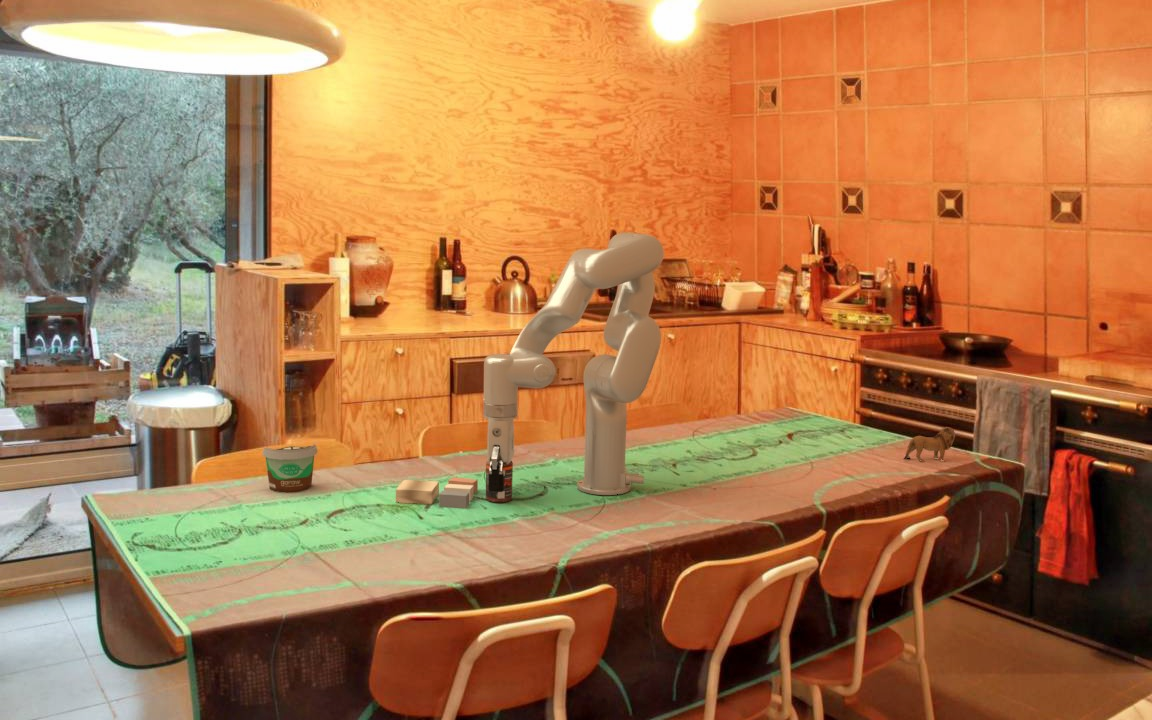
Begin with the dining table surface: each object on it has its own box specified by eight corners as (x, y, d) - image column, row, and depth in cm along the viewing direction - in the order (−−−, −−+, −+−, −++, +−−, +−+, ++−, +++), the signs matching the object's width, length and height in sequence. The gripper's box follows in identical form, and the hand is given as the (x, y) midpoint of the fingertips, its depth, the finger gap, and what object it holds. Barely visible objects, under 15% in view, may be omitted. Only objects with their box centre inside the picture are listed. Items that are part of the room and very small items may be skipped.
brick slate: (469, 505, 233) (469, 492, 232) (465, 509, 230) (466, 496, 229) (442, 503, 234) (442, 490, 233) (439, 507, 231) (439, 494, 230)
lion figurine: (946, 457, 289) (948, 424, 288) (957, 461, 284) (960, 429, 283) (898, 458, 286) (900, 426, 284) (909, 463, 280) (911, 430, 279)
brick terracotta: (477, 492, 243) (477, 479, 243) (473, 495, 240) (473, 482, 240) (453, 489, 245) (453, 477, 244) (448, 493, 242) (448, 480, 241)
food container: (268, 496, 235) (267, 452, 233) (262, 489, 240) (262, 446, 238) (323, 490, 240) (323, 447, 239) (317, 483, 246) (316, 441, 244)
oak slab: (438, 494, 240) (438, 481, 239) (431, 504, 232) (431, 491, 232) (404, 492, 240) (404, 479, 240) (395, 502, 233) (395, 489, 232)
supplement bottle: (508, 504, 234) (509, 454, 232) (482, 502, 235) (482, 452, 233) (515, 497, 239) (516, 448, 238) (489, 495, 241) (490, 446, 239)
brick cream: (473, 498, 238) (473, 485, 238) (470, 502, 235) (470, 489, 235) (447, 496, 239) (447, 483, 239) (443, 500, 236) (444, 487, 236)
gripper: (512, 419, 225) (510, 497, 228) (521, 403, 242) (520, 476, 245) (477, 417, 226) (476, 495, 228) (489, 402, 243) (488, 474, 245)
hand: (499, 485), depth 237 cm, fingers open, 9 cm apart
